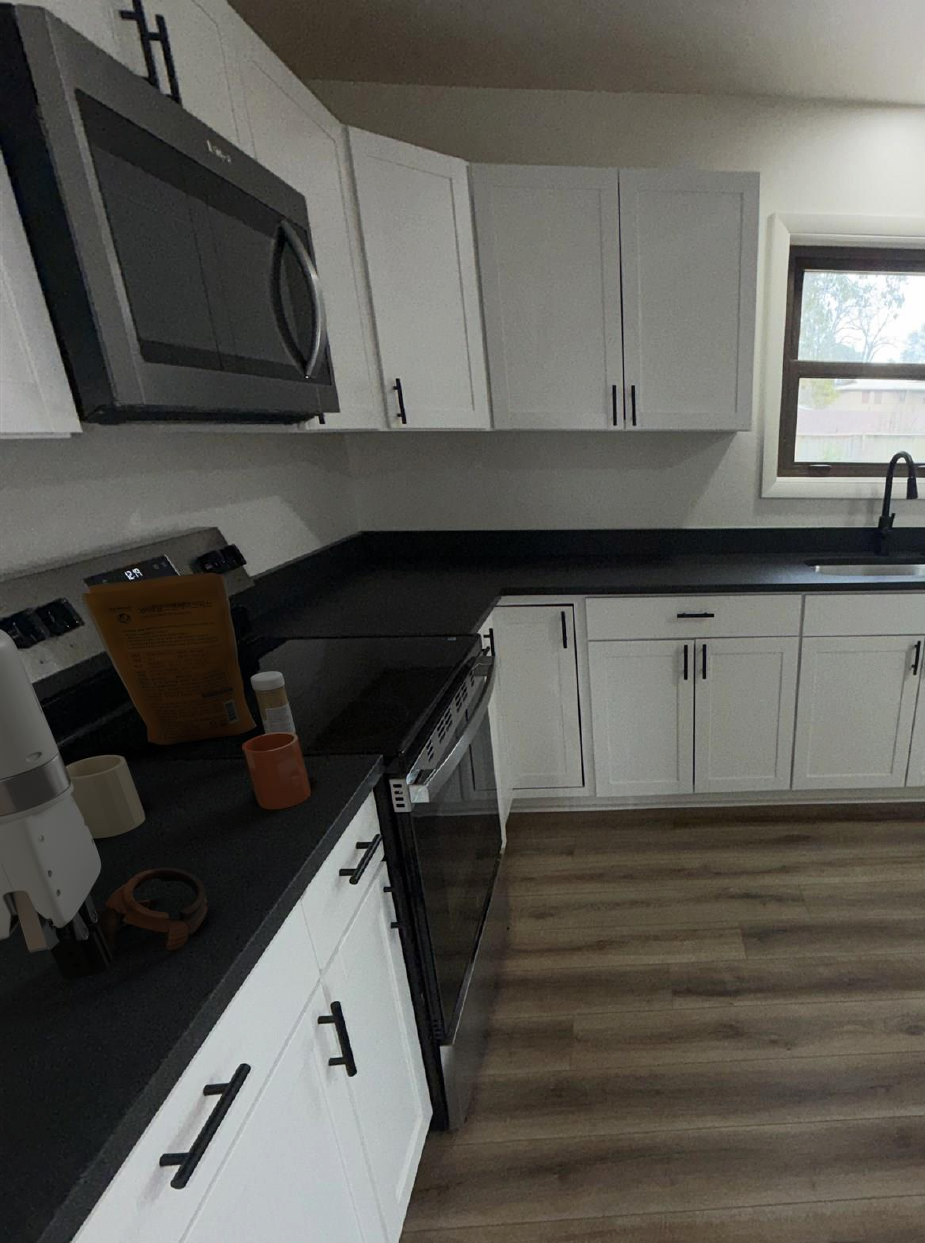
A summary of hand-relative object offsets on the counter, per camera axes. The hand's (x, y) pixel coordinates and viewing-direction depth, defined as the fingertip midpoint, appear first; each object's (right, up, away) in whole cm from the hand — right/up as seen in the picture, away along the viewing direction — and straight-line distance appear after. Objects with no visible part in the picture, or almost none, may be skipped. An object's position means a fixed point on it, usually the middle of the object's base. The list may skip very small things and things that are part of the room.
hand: (89, 969), depth 64 cm
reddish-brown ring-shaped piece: (-5, -1, +14) cm, 15 cm away
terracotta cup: (-6, +12, +43) cm, 45 cm away
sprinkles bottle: (-14, +19, +57) cm, 62 cm away
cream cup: (-26, +9, +36) cm, 45 cm away
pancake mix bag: (-31, +21, +63) cm, 74 cm away
